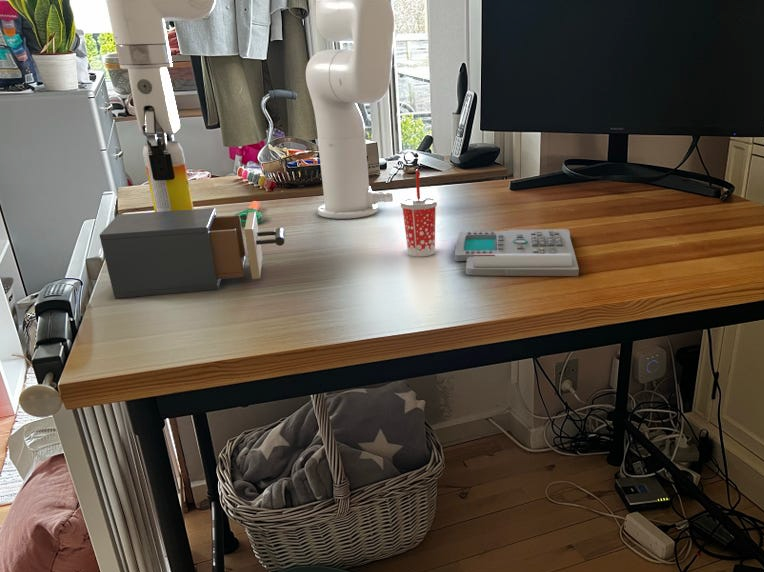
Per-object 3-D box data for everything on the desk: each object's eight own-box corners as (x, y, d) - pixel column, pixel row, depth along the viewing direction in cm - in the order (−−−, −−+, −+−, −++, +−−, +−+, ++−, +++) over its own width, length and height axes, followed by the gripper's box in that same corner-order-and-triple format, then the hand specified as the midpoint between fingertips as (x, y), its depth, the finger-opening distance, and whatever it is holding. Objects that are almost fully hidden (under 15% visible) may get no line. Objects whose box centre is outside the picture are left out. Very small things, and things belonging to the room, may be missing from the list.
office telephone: (580, 261, 111) (450, 261, 112) (580, 277, 113) (451, 277, 113) (568, 221, 132) (459, 222, 133) (568, 235, 134) (459, 236, 134)
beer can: (204, 230, 126) (188, 140, 120) (187, 239, 121) (170, 146, 114) (170, 229, 127) (153, 140, 120) (153, 239, 121) (133, 146, 115)
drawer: (288, 255, 122) (282, 209, 119) (288, 276, 112) (281, 226, 109) (177, 264, 119) (167, 217, 115) (166, 287, 109) (155, 235, 105)
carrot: (260, 225, 145) (258, 217, 144) (228, 226, 144) (227, 218, 143) (270, 208, 158) (269, 200, 158) (242, 209, 158) (241, 201, 157)
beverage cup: (444, 249, 127) (441, 167, 121) (431, 259, 122) (426, 174, 116) (412, 246, 129) (407, 166, 123) (397, 256, 124) (392, 172, 118)
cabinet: (224, 265, 121) (215, 207, 117) (218, 289, 110) (207, 226, 106) (130, 273, 118) (117, 214, 114) (114, 298, 107) (99, 234, 103)
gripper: (162, 59, 105) (185, 184, 113) (178, 55, 120) (197, 165, 128) (106, 60, 104) (133, 187, 111) (129, 56, 119) (152, 168, 126)
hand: (167, 174), depth 120 cm, fingers closed on beer can, 6 cm apart
